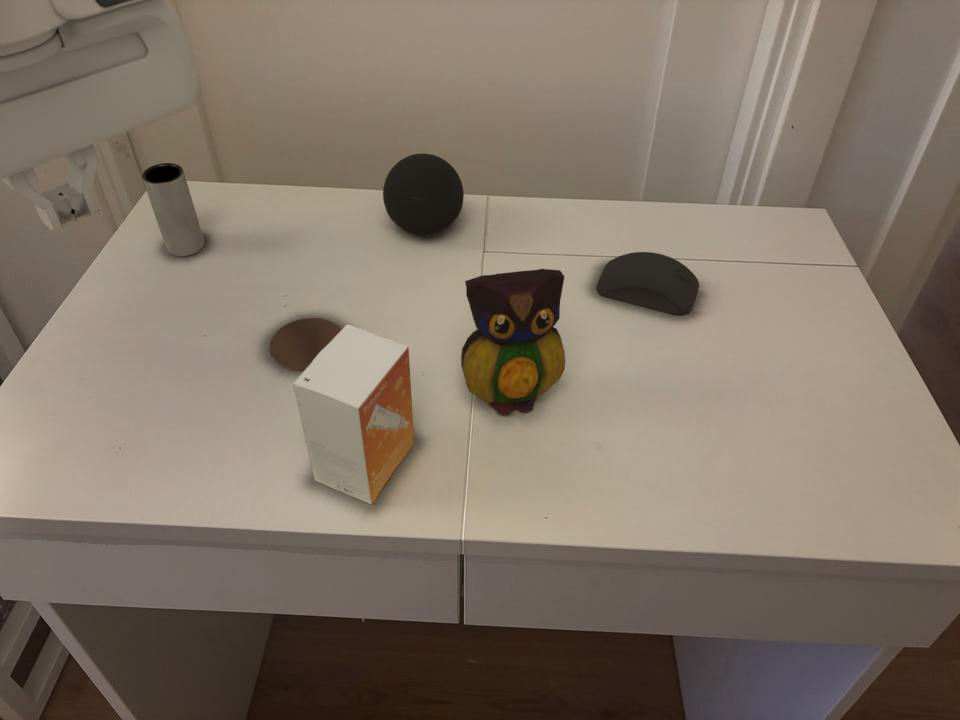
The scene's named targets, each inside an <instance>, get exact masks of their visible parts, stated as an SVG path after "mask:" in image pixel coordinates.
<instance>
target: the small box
mask: <svg viewBox="0 0 960 720" xmlns="http://www.w3.org/2000/svg"><path fill="white" fill-rule="evenodd" d="M409 348H410V347H409V345H407V344H404V343H401V342H398V341H396V340H393V339H390V338H387V337H384V336H381V335H379V334H377V333H373V332H370V331H368V330H364V329H363V328H360V327H357V326H354V325H352V324H348V323H347V324H346V325H345V326H343V328H341V331H340V332H339V333H338V334H337V335H336V336H335V337H334V338H333V340H332V341H331V342H330V343H329V344H328V345H327V346H326V347H325V348H324V349H322V350H321V351H320V353H319V354H318V355H317V356H316V357H315V359H314V360H313V361H312V362H311V364H310V365H309V366H308V367H307V368H306V369H305V370H304V371H302V372H301V374H300V375H299V376H298V377H297V378H296V379H295V380H294V381H293V382H292V387H293V391H294V395H295V399H296V404H297V409H298V413H299V418H300V421H301V422H300V423H301V426H302V431H303V435H304V439H305V445H306V448H307V449H306V450H307V453H308V457H309V461H310V466H311V471H312V475H313V479H314V481H315V482H317V483H320V484H322V485H324V486H327V487H328V488H331V489H333V490H335V491H338V492H340V493H342V494H345V495H348V496H350V497H352V498H354V499H357V500H360V501H362V502H364V503H367V504H369V505H373V504H374V503H375V501H376V499H377V498H378V497H379V495H380V493H381V492H382V490H383V488H384V487H385V485H386V484H387V482H388V481H389V480H390V478H391V477H392V476H393V474H394V472H395V471H396V470H397V468H398V467H399V465H400V464H401V463H402V461H403V460H404V458H405V457H406V456H407V454H408V453H409V451H410V450H411V449H412V448H413V446H414V445H415V433H414V416H413V414H414V413H413V402H412V384H411V383H412V381H411V366H410V351H409Z"/></svg>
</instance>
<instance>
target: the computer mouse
mask: <svg viewBox="0 0 960 720" xmlns="http://www.w3.org/2000/svg"><path fill="white" fill-rule="evenodd" d="M699 289H700V281H699V279H698V278H697V277H696V275H695V274H694V272H693V271H692V270H690V269H689V267H688V266H687V265H685V264H683V263H682V262H680V261H679V260H677V259H675V258H673V257H671V256H668V255H666V254H662V253H657V252H650V251H634V252H629V253H624V254H621V255H619V256H617V257H615V258H612V259H610V260H609V261H608V262H607V263H605V266H604V268H603V270H602V272H601V275H600V277H599V279H598V281H597V283H596V289H595V290H596V292H597V293H598V295H600V296H601V297H604V298H606V299H610V300H613V301H617V302H621V303H625V304H630V305H632V306H633V305H634V306H638V307H640V308H641V307H642V308H646V309H649V310H652V311H657V312H660V313H665V314H668V315H672V316H677V317H678V316H679V317H680V316H685V315H688V314H689V313H690V312H691V311H692V310H693V307H694V305H695V301H696V298H697V296H698V291H699Z"/></svg>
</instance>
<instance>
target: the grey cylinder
mask: <svg viewBox="0 0 960 720" xmlns="http://www.w3.org/2000/svg"><path fill="white" fill-rule="evenodd" d="M141 179H142V182H143V184H144V187H145V191H146V193H147V197H148V199H149V202H150V205H151V208H152V211H153V214H154V217H155V219H156V223H157V225H158V229H159V232H160V234H161V237H162V240H163V243H164V247H165V249H166V251H167V252H168V253H169V254H170V255H172V256H175V257H188V256H191V255H195V254H196V253H199V252H200V251H201V250H202V249H203V248H204V246H205V240H204V235H203V232H202V229H201V225H200V222H199V218H198V215H197V212H196V208H195V205H194V201H193V198H192V195H191V192H190V191H191V190H190V188H189V184H188V182H187V178H186V174H185V171H184V168H182V166H181V165H179V164H176V163H171V162H164V163H157V164H153V165H151V166H149V167H148V168H146V169H145V170H144V171H143V172H142V174H141Z"/></svg>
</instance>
